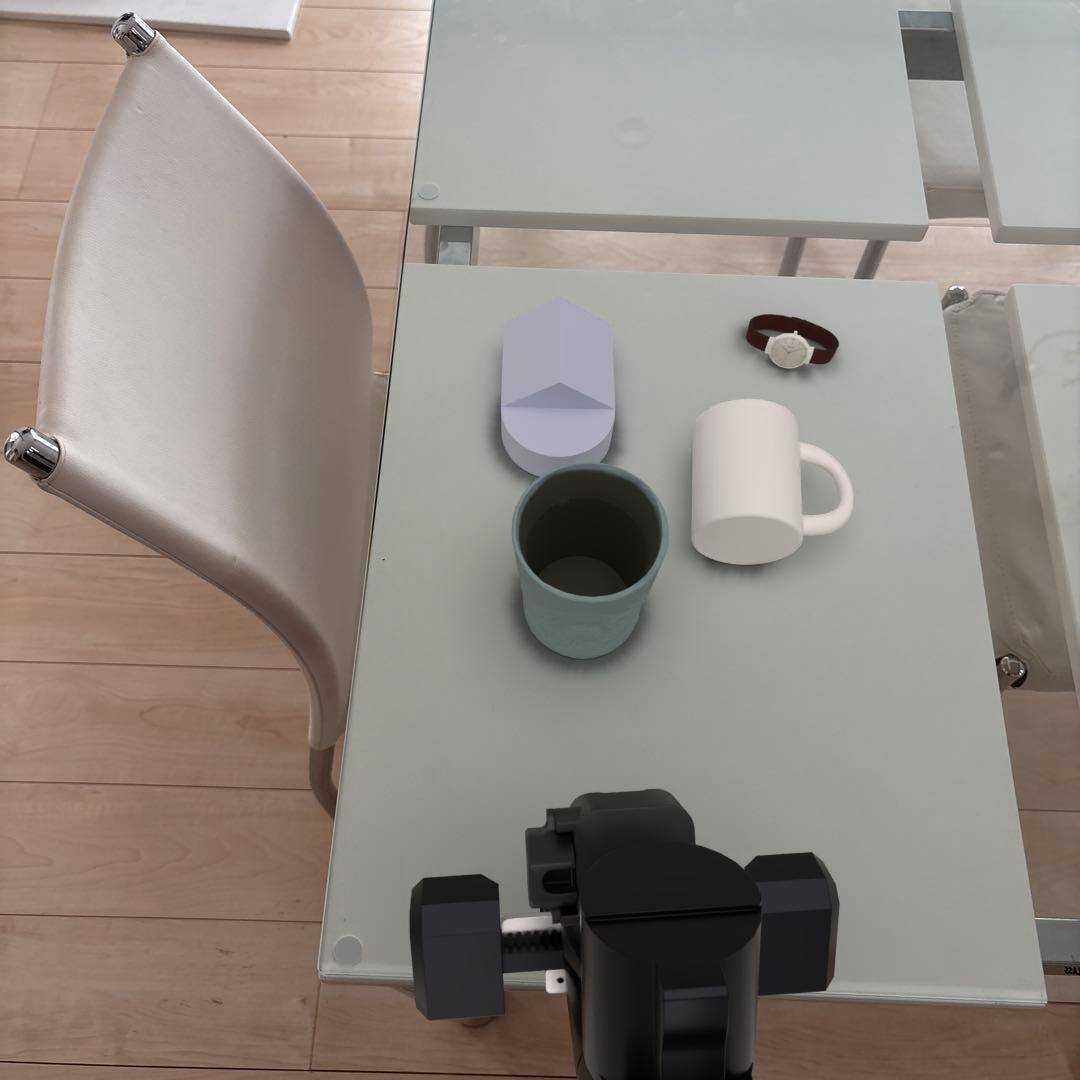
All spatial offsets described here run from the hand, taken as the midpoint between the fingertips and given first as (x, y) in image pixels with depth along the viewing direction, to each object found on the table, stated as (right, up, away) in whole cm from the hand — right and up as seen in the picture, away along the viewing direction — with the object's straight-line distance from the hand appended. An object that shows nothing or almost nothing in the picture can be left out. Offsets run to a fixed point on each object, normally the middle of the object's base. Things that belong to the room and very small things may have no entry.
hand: (600, 827), depth 51 cm
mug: (+14, +17, +25) cm, 33 cm away
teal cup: (0, +10, +21) cm, 23 cm away
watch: (+18, +32, +32) cm, 49 cm away
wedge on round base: (-2, +26, +28) cm, 38 cm away
